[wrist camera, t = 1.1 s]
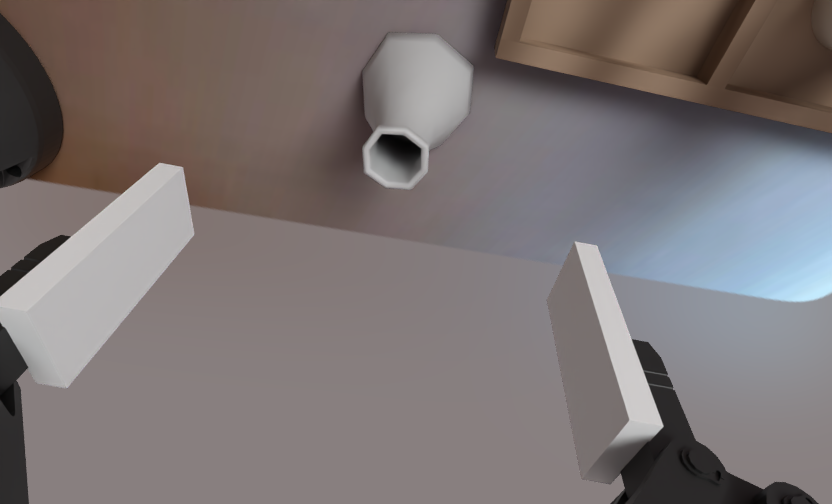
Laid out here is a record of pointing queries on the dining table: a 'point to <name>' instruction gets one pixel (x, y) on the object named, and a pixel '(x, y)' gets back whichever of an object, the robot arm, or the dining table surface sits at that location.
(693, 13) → the tray
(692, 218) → the dining table surface
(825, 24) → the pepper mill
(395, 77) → the flask
